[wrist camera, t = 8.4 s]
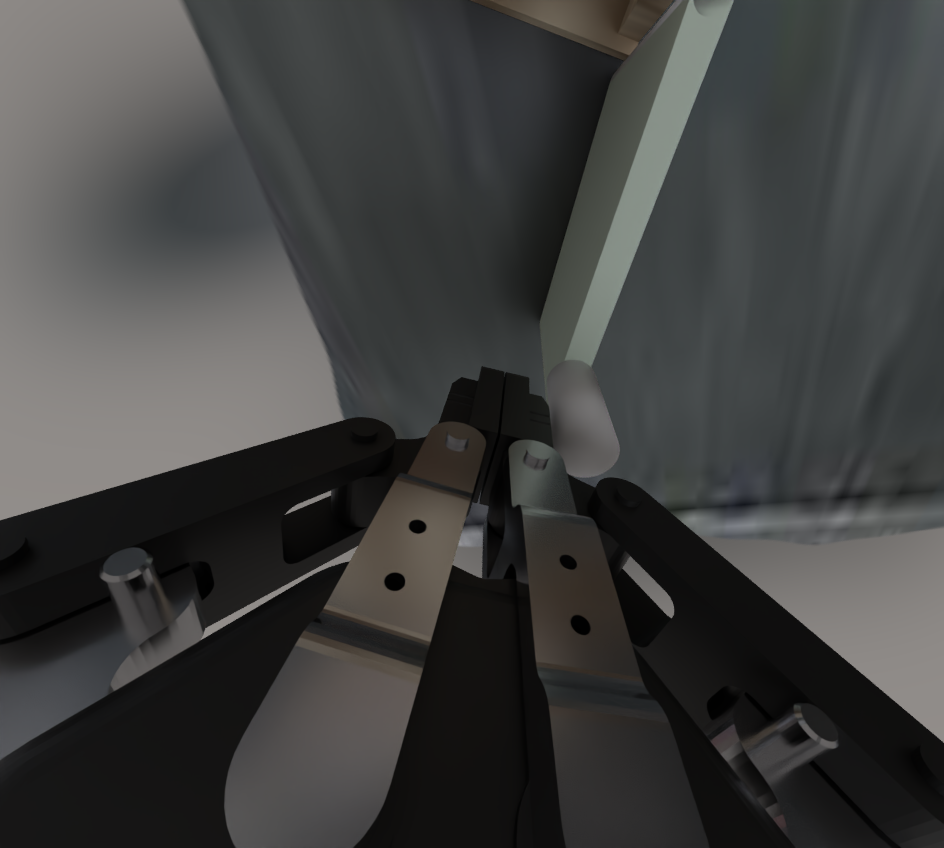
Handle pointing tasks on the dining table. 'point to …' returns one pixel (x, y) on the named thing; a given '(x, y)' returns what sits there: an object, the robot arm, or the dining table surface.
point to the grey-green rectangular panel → (618, 220)
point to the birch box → (588, 20)
